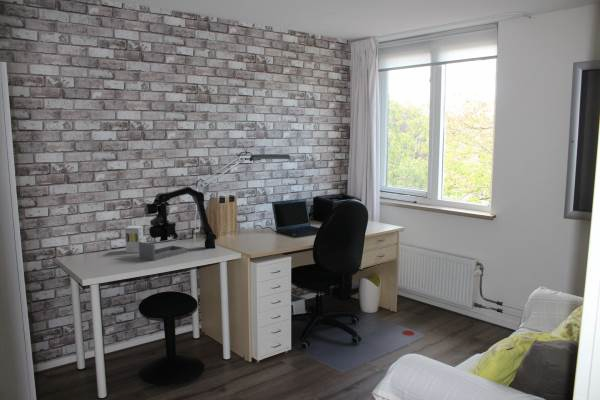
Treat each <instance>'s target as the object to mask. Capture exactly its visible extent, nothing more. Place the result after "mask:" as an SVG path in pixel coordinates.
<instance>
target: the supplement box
mask: <svg viewBox="0 0 600 400" xmlns="http://www.w3.org/2000/svg"><path fill="white" fill-rule="evenodd" d="M124 235H125V236H124V239H125V253H126V254H128V253H130V254H131V253H135V254H137V253H139V242H143V243H145V242H144V226H143V225H128V226H126V227H124Z"/></svg>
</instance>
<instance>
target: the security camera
mask: <svg viewBox="0 0 600 400" xmlns="http://www.w3.org/2000/svg"><path fill="white" fill-rule="evenodd" d="M164 227H165V225H158V226H152V225H150V227H149V229H148V231H149V235H150V238H152V239H157V238H159V241H160V242H164V241H166V242H167V241H168V240H169V239H168V238H172V240H173V239H174V240H176V239H178V238H179V235H178V233H177V232H176V226H174V227H173V228H172V230H171V232H170V234H169V237H167V236H166V230H165V228H164Z"/></svg>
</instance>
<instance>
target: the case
mask: <svg viewBox="0 0 600 400" xmlns="http://www.w3.org/2000/svg"><path fill="white" fill-rule="evenodd" d="M155 247H156V246H155V244H154V243H149V242H148V243H147V242H144V243H143V242H139V258H140V259H143V260H150V261H153V262H154V261H155V262H156V261H158V260H162V259H167V258H170V257H174V256H178V255H181V254H186V253H188V247H185V246H178V245H173V244H172V245H169V246H164V247H159V248H155Z"/></svg>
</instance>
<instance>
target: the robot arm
mask: <svg viewBox="0 0 600 400" xmlns="http://www.w3.org/2000/svg"><path fill="white" fill-rule="evenodd" d="M186 194H188V195H189V196H191V197H192V200H193V203H195V205H196V207H197V210H198V215H199V219H200V224H201V226H200V227H199V231H200V234H201V235H202V237H203V238H204V239H205V240H204V248H205V249H216V239H217V237H218V236H217V235H216V234H215V233H214V231H213V228H212V227H211V225H210V224H209V220H208V217H207V212H206V209H205V204H204V203H205V194H204V192H201V191H198V190H195V189H193V188H192V187H190V186H185V187H183V188H179V189H176V190H172V191H168V192H158V193H157V194H155V195H156V196H155V199H154V200H153V202H152V203H145V207H144V212H145V214H146V215H154V214H156V215H155V217H154V218H152V219H151V220H149V223H150V226H158V225H165V227H164V228H165V230H166V236H167V237H168V238H170V237H169V234H170V232H171V230H172V228H173V227H174V226H175V227H176V226H177V223H176V222H175V221H170V220H169V219H168V216H169V213H168V209H167V207H168V206H170V203H169V202H168V201H169V200H171V199H173V198H177V197H179V196H184V195H186Z"/></svg>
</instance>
